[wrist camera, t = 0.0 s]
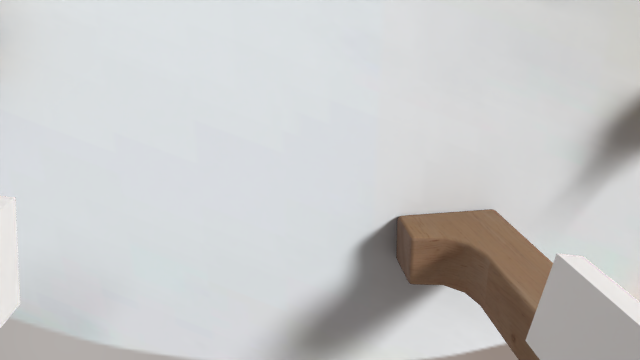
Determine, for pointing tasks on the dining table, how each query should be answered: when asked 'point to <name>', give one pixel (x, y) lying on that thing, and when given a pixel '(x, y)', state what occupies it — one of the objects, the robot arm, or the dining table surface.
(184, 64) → the dining table surface
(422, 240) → the wooden block
